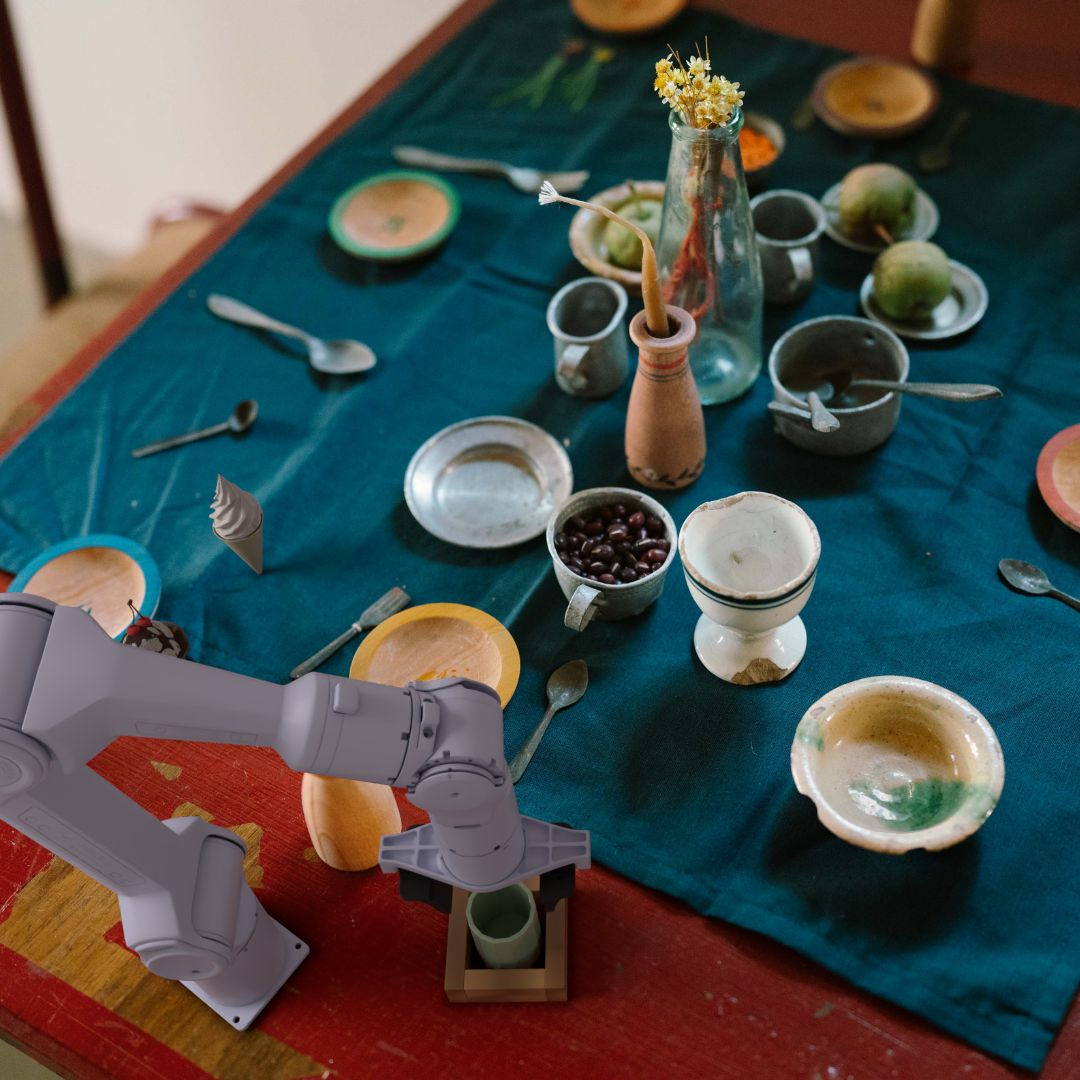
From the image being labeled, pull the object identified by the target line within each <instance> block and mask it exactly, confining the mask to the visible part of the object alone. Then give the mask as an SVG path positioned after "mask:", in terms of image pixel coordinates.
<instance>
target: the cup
mask: <svg viewBox="0 0 1080 1080" xmlns="http://www.w3.org/2000/svg"><path fill="white" fill-rule="evenodd" d="M466 915H467V919H468V923H469V927H470V930H471V933H472V940H473V941H474V944H475V947H476V951H477V953H478V956H479V959H480V960H481V962H482V963H483V964H484V966H485V967H486V968H487V970H489V969H532V968H533V966H534V965H535V964H536V963H537V962H538V960H539V958H540V956H541V953H542V949H543V940H544V938H543V935H542V934H543V933H542V927H541V924H540V918H539V915H538V911H537V906H536V905H535V902H534V898H533V895H532V892H531V891H530V890H529V889H528V888H527V886H526V885H525V884H524V883H523V882H518V883H515V884H513V885H510V886H507V887H504V888H502V889H499V890H496V891H492V892H486V893H478V892H473V893H472V894H471V895H470V897H469V900H468V905H467V909H466Z"/></svg>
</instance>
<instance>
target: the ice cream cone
mask: <svg viewBox="0 0 1080 1080" xmlns="http://www.w3.org/2000/svg"><path fill="white" fill-rule="evenodd" d="M214 492H215V493H216V494H215V495H214V497H213V500H215V501H214V502H212V503H211V504H210V507H209V508H210V509H214V512H212V513H210V514H209V516H208V517H209V518H210V519H213V522H212V531H213V533H214V535H215V536H216V537H217V538H218V539H219V540H222V541H223V543H225V544H226V545H227V547H229V548H230V549H231V550H232V551H233V552H234V553H235V554H236V555H238V556H239V557H240V559H242V561H244V562H245V563H246V564H247V565H248V566H249V568H251V569H252V570H253V571H254V572H255V573H256V574H258V575H262V573H263V523H264V513H263V509H262V507H261V506H260V503H259V501H258V500H257V499H256V498H255V497H254V495H253V494H252V493H251V492H249V491H246V490H242V489H241V488H240V487H239V486H237V484H235V483H232V482H230V481H229V480H227V479H226V478H225V477H224V476H223V475H221V474H220V473H218V474H217V482H216V489H215V490H214Z"/></svg>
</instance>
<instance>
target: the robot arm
mask: <svg viewBox="0 0 1080 1080" xmlns="http://www.w3.org/2000/svg"><path fill="white" fill-rule="evenodd" d="M120 736H121V737H122V736H124V737H137V738H149V739H159V740H160V739H163V740H172V741H173V740H176V741H185V742H201V743H213V744H223V745H224V744H227V745H237V746H252V747H263V748H271V749H273V750H274V751H275V752H276V753H277V755H278V756H279V757H280V758H281V759H282V760H283V762H284V763H285V764H286V766H287V767H288V768H289V769H290V770H291V771H293V772H297V773H305V774H311V775H318V776H324V777H331V778H336V779H337V778H338V779H345V780H350V781H357V782H364V783H369V784H375V785H376V784H377V785H383V786H389V787H394V788H401V789H407V791H408V792H406V793H405V794H404V797H405V798H406V799H407V801H408V802H409V803H410V804H412V805H413V806H415V807H416V808H418V809H420V810H422V811H425V812H427V815H428V817H429V820H430V822H429V823H416V824H413V825H410V826H409V827H407V828H406V830H405V831H403V832H399V833H393V834H392V833H391V834H382V835H381V836H380V841H379V849H378V858H377V859H378V860H377V862H378V864H379V867H380V869H381V871H382V873H383V874H396V873H398V876H399V883H398V892H399V895H400V897H401V898H402V900H403V902H419V903H423V904H426V905H427V906H429V907H431V908H433V909H434V910H436V911H438V912H439V913H440V914H443V915H449V914H451V912H452V897H453V886H456V887H459V888H462V889H465V890H468V891H472V892H478V893H486V892H492V891H496V890H499V889H502V888H504V887H507V886H510V885H513V884H515V883H518V882H521V881H524V880H526V879H529V878H532V877H534V876H537V875H540V882H539V898H540V899H543V901H544V905H543V911H544V913H546V912H554V911H555V907H556V905H557V903H558V902H559V901H560V900H561V899H563V898H567V899H571V898H573V895H574V893H575V889H576V869H577V870H590V869H592V868H591V867H592V857H591V856H592V855H591V854H592V853H591V852H592V851H591V837H590V830H587V829H585V830H584V829H575V828H574V827H573V826H572V825H571V824H569V823H567V822H564V821H560V822H559V821H558V822H557V821H556V822H554V821H553V822H548V821H544V820H540V819H537V818H534V817H532V816H528V815H525V814H521V813H520V812H519V811H520V810H519V807H518V800H517V797H516V791H515V788H514V782H513V778H512V774H511V773H512V772H511V770H510V767H509V765H508V761H507V760H506V758H505V748H504V747H505V746H504V743H505V742H504V712H503V707H502V699H501V696H500V694H499V693H498V692H497V690H495V689H494V688H493V687H491V686H490V685H488V684H487V683H484V682H481V681H478V680H475V679H470V678H468V677H464V676H463V677H462V676H452V677H451V676H450V677H441V678H437V679H433V680H425V681H424V680H418V679H417V680H416V679H415V680H413V681H409V680H408V681H406V683H405V684H404V686H403V687H400V686H399V687H398V686H394V685H389V684H384V683H377V682H372V681H368V680H367V681H366V680H361V679H358V678H357V679H356V678H351V677H346V676H339V675H334V674H330V673H329V674H328V673H323V672H318V671H311V672H307V673H305V674H304V675H302V676H300V677H298V678H296V679H295V680H293V681H291V682H289V683H287V684H284V685H282V684H278V683H275V682H271V681H267V680H263V679H260V678H255V677H252V676H248V675H245V674H241V673H237V672H234V671H229V670H226V669H222V668H217V667H214V666H210V665H207V664H203V663H198V662H195V661H191V660H188V659H187V660H184V659H180V658H176V657H172V656H169V655H165V654H161V653H157V652H154V651H150V650H146V649H142V648H138V647H135V646H131V645H127V644H123V643H120V641H117V640H115V639H114V638H113V637H112V636H111V635H109V633H108V632H107V631H106V630H105V629H104V628H103V627H102V625H100V623H99V621H97V620H96V619H95V618H94V617H93V616H92V615H91V614H90V613H89V612H87V611H86V610H85V609H84V608H81V607H78V606H70V605H60V604H59V603H57V602H55V601H53V600H51V599H49V598H47V597H43V596H41V595H38V594H33V593H29V592H28V593H27V592H19V591H18V592H16V591H11V592H0V820H1V821H3V822H4V823H6V824H8V825H9V826H11V827H12V828H14V829H15V830H17V831H18V832H20V833H22V834H23V835H25V836H26V837H28V838H29V839H31V840H32V841H33V842H35V843H37V844H39V845H41V847H43V848H45V849H46V850H48V851H49V852H51V853H52V854H54V855H55V856H57V857H59V858H60V859H62V860H63V861H65V862H66V863H68V864H69V865H71V866H73V867H75V868H76V869H78V870H79V871H80V872H82V873H83V874H85V875H86V876H88V877H90V878H92V879H93V880H95V881H96V882H98V883H99V884H100V885H102V886H104V887H105V888H107V889H109V890H110V891H112V892H113V893H115V894H116V896H117V900H118V904H119V910H120V916H121V917H120V918H121V925H122V929H123V935H124V940H125V944H126V947H127V948H129V949H130V950H132V951H133V952H135V953H137V954H138V955H139V957H140V962H141V963H142V964H143V965H144V967H146V968H147V969H148V970H149V972H151V973H153V974H154V975H155V976H158V977H161V978H163V979H168V980H173V981H179V983H181V984H182V985H183V986H184V987H186V988H187V989H188V990H189V991H191V992H192V993H193V994H194V995H195V996H196V997H198V998H199V999H200V1000H201V1001H202V1002H204V1004H206V1005H207V1006H208V1007H209V1008H210V1009H212V1010H213V1011H214V1012H215V1013H216V1014H218V1015H219V1016H220V1017H221V1018H222V1019H224V1020H225V1021H226V1022H227V1023H228V1024H230V1025H231V1026H232V1027H233V1028H234V1029H235V1030H237V1031H238V1032H244V1031H246V1030H247V1029H248V1028H249V1027H250V1025H251V1024H252V1023H253V1022H254V1021H255V1019H256V1018H257V1017H258V1016H259V1015H260V1013H261V1012H262V1011H263V1010H264V1008H265V1007H266V1006H267V1005H268V1004H269V1003H270V1001H271V1000H272V999H273V998H274V996H275V995H276V994H277V993H278V992H279V990H280V989H281V988H282V987H283V985H284V984H285V983H286V982H287V981H288V980H289V979H290V977H291V976H292V975H293V973H294V972H295V971H296V970H297V969H298V968H299V966H300V965H301V964H302V963H303V961H304V960H305V959H306V958H307V957H308V955H309V954H310V950H311V949H310V947H309V945H308V944H307V943H305V942H304V941H303V940H301V939H300V938H299V937H298V936H296V935H295V934H294V933H292V932H291V931H290V930H289V929H287V928H286V927H285V926H284V925H282V923H280V922H278V921H277V920H275V919H274V918H273V917H272V916H271V915H269V914H268V913H267V911H266V909H265V908H264V906H263V905H262V904H261V902H260V900H259V899H258V897H257V896H256V894H255V893H254V891H253V889H252V887H250V885H249V884H248V883H247V880H246V871H245V870H244V868H243V867H244V860H245V859H246V857H247V852H248V845H247V843H246V841H245V840H244V839H243V838H242V837H241V836H240V835H238V834H237V833H235V831H232V830H231V829H229V828H226V827H224V826H220V825H215V824H212V823H210V822H208V821H207V820H206V819H204V818H203V817H202V816H199V815H195V816H193V815H192V816H191V815H190V816H189V815H188V816H177V817H172V818H168V819H164V820H159V818H157V817H156V816H154V815H153V814H152V813H150V812H149V811H148V810H146V809H145V808H144V807H142V805H140V804H138V803H137V802H136V801H134V800H133V799H132V798H131V797H129V796H128V795H127V794H125V793H124V792H123V791H122V790H120V789H119V788H118V787H116V786H115V785H113V784H112V783H111V782H110V781H108V780H107V779H105V777H103V776H102V775H100V774H99V773H98V772H96V771H95V770H94V769H92V768H91V767H90V766H88V765H87V763H89V762H90V761H92V759H94V758H95V757H96V756H97V755H99V754H100V753H101V752H102V751H103V750H105V749H106V748H107V747H108V746H110V745H111V744H112V743H114V742H115V741H116V740H117V739H118V738H119V737H120ZM298 946H300V948H297V947H298ZM237 1019H239V1021H238V1022H236V1020H237Z"/></svg>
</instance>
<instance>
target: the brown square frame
mask: <svg viewBox="0 0 1080 1080" xmlns="http://www.w3.org/2000/svg"><path fill="white" fill-rule="evenodd" d="M521 882H523V883H524V884H525V885H526V886H527V888H528V889H529V890H530V891H531V892H532V895H533V898H534V902H535V905H536V907H537V906H538V907H539V906H544V901H543V899H540V898H539V882H540V875H537V876H534V877H532V878H529V879H526V880H524V881H521ZM472 893H473V892H472V891H468V890H465V889H462V888H459V887H456V886H453V897H452V912H451V914H448V929H447V944H446V960H445V973H444V974H445V975H444V988H443V989H444V991H445V994H446V996H447V999H448V1002H449V1003H529V1002H531V1003H532V1002H533V1003H534V1002H535V1003H536V1002H537V1003H538V1002H568V898H563V899H561V900H560V901H559V902H558V903H557V905H556V907H555V911H554V912H545V955H544V958H545V959H544V960H545V962H544V963H545V965H544V967H545V968H530V969H471V968H472V967H471V966H472V948H473V947H472V946H473V936H472V933H471V930H470V927H469V923H468V919H467V915H466V909H467V905H468V900H469V897H470V895H471V894H472Z"/></svg>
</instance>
